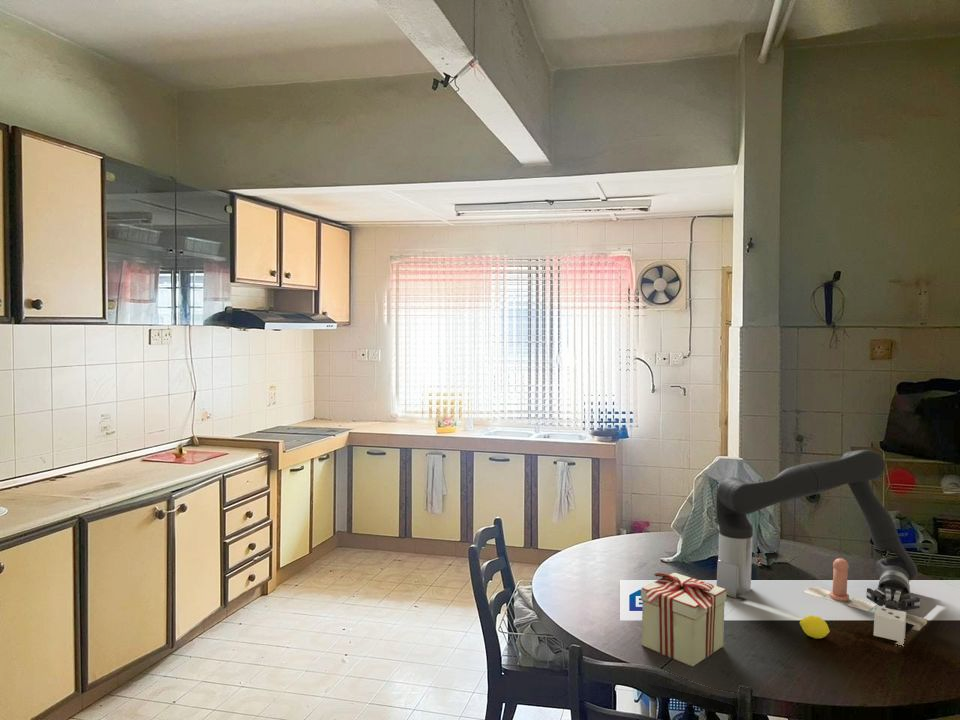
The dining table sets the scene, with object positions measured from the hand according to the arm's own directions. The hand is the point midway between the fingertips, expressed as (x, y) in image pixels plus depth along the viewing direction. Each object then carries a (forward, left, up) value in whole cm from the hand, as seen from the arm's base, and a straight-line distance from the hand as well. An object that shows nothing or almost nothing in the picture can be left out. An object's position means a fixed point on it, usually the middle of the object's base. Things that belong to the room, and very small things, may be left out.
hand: (891, 609), depth 184 cm
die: (-3, -1, -6) cm, 7 cm away
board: (+10, +10, -6) cm, 16 cm away
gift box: (-48, +31, -7) cm, 57 cm away
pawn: (+10, +16, -5) cm, 20 cm away
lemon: (-17, +12, -7) cm, 22 cm away
